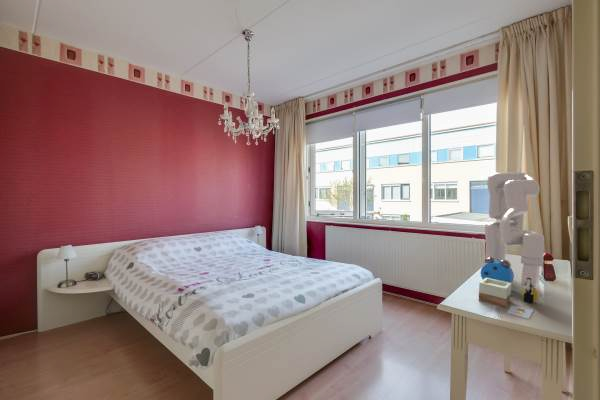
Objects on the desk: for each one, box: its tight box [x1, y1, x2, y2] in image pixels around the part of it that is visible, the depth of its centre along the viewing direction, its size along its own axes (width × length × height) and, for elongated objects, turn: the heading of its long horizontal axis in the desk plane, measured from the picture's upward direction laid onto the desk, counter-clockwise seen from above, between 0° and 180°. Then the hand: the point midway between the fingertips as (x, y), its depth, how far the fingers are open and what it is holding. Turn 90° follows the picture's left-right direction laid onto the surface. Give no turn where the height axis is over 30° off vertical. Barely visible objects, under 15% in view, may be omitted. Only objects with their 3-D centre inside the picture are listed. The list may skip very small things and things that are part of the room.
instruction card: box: [506, 305, 534, 320], centre depth 116 cm, size 10×7×1 cm
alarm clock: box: [480, 257, 515, 283], centre depth 143 cm, size 13×6×15 cm, turn 38°
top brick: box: [478, 278, 513, 299], centre depth 126 cm, size 10×10×4 cm
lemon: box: [521, 286, 539, 303], centre depth 125 cm, size 6×6×8 cm
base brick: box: [478, 291, 512, 309], centre depth 126 cm, size 10×10×4 cm
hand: (529, 300), depth 125 cm, fingers closed on lemon, 5 cm apart
